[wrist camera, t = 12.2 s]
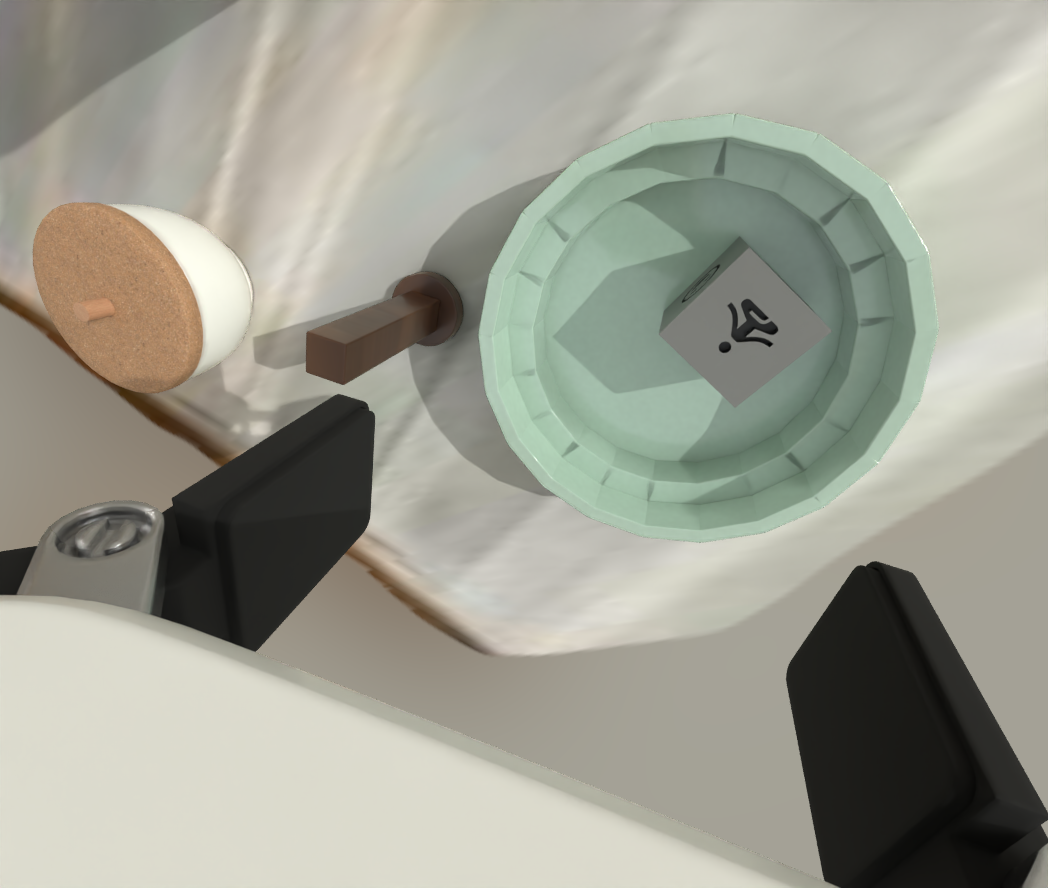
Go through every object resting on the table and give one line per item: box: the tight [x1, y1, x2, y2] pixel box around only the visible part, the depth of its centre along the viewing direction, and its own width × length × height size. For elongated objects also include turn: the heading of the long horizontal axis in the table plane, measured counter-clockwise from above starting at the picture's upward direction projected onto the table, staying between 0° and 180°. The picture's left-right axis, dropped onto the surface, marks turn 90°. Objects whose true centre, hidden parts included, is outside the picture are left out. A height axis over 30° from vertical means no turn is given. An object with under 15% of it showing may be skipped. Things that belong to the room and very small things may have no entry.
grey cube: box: [659, 236, 832, 407], centre depth 25 cm, size 5×5×5 cm
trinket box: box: [33, 203, 253, 393], centre depth 33 cm, size 11×11×9 cm
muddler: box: [306, 271, 463, 385], centre depth 28 cm, size 4×4×11 cm
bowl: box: [478, 113, 939, 543], centre depth 27 cm, size 20×20×6 cm
